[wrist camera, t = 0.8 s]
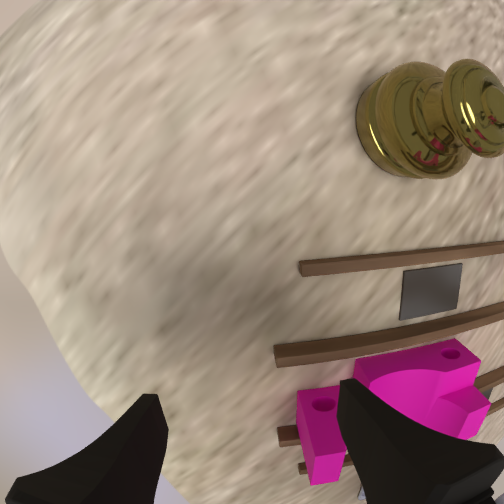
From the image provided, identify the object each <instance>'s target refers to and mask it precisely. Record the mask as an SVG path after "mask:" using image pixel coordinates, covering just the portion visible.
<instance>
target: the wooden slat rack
mask: <svg viewBox="0 0 504 504" xmlns="http://www.w3.org/2000/svg"><path fill="white" fill-rule="evenodd" d="M500 253H504V241H499V242H490V243H481V244H472V245H462V246H452V247H443V248H433V249H423V250H413V251H402V252H392V253H381V254H371V255H360V256H349V257H338V258H327V259H316V260H304V261H299V267H300V274H301V275H302V277H308V276H318V275H329V274H338V273H348V272H358V271H367V270H376V269H385V268H394V267H402V266H410V265H419V264H427V263H435V262H443V261H450V260H458V259H465V258H472V257H480V256H487V255H494V254H500ZM461 273H462V263H459V264H452V265H445V266H438V267H430V268H423V269H415V270H407V271H403V284H402V296H401V306H400V315H399V320H400V321H401V320H406V319H411V318H416V317H421V316H426V315H431V314H435V313H440V312H444V311H449V310H453V309H456V308H457V302H458V296H459V289H460V281H461ZM503 319H504V302H501V303H498V304H494V305H491V306H487V307H483V308H480V309H476V310H472V311H469V312H465V313H461V314H457V315H453V316H448V317H444V318H440V319H436V320H431V321H427V322H422V323H417V324H413V325H408V326H403V327H398V328H392V329H387V330H381V331H376V332H370V333H364V334H358V335H352V336H345V337H339V338H332V339H324V340H317V341H309V342H301V343H292V344H283V345H274V356H275V361H276V366H277V368H281V367H290V366H298V365H306V364H314V363H321V362H328V361H334V360H341V359H347V358H353V357H358V356H364V355H369V354H374V353H379V352H384V351H389V350H394V349H399V348H403V347H407V346H412V345H416V344H420V343H424V342H428V341H432V340H436V339H440V338H444V337H447V336H451V335H455V334H458V333H462V332H465V331H468V330H472V329H475V328H478V327H481V326H484V325H488V324H491V323H494V322H497V321H500V320H503ZM503 382H504V366H502V367H500V368H498V369H496V370H494V371H491V372H489V373H487V374H485V375H482V376H480V377H477V378H475V381H474V384H473V385H474V386H475V387H476V388H477V389H478V390H479V391H480V392H481V393H482V394H483V395H484V396H485V397H486V398H487V399H489V397H490V394H491V392H492V389H493V387H495V386H497V385H499V384H501V383H503ZM503 407H504V398H502V399H500V400H498V401H496V402H494V403H492V404H491V405H490V408H489V410H488V412H487V414H486V416H488V415H490V414H492V413H494V412H496V411H498V410H499V409H501V408H503ZM486 416H485V417H486ZM277 431H278V439H279V445H280V447H286V446H294V445H301V441H300V437H299V432H298V428H297V425H294V426H286V427H277ZM350 465H354V464H353V462H352V459H351V457H350V455H345V457H344V461H343V465H342V467H345V466H350ZM298 469H299V473H300V475H301V474H308V471H307V467H306V463H299V464H298Z"/></svg>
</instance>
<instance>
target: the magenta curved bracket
mask: <svg viewBox="0 0 504 504" xmlns="http://www.w3.org/2000/svg"><path fill="white" fill-rule="evenodd" d="M480 363H481V360H480V359H479V358H478V357H476V356H475V355H474V354H473V353H472V352H471V351H469V350H468V349H467V348H466V347H465V346H464V345H462V344H461V343H460V342H459V341H458V340H456V339H455V338H454V339H450V340H447V341H443V342H438V343H434V344H430V345H426V346H421V347H417V348H412V349H407V350H402V351H397V352H392V353H387V354H381V355H376V356H370V357H364V358H358V359H356V360H355V367H354V374H353V378H355V379H357V380H358V381H359V382H360V383H362V384H363V385H364V386H365V387H367V388H368V389H369V390H370V391H371V392H373V393H374V394H375V395H376V396H378V397H379V398H380V399H382V400H383V401H384V402H386V403H387V404H388V405H390V406H391V407H393V408H394V409H396V410H397V411H399V412H400V413H402V414H404V415H405V416H407V417H408V418H410V419H412V420H414V421H416V422H418V423H420V424H422V425H424V426H426V427H428V428H430V429H433V430H435V431H438V432H441V433H443V434H446V435H449V436H452V437H456V438H459V439H464V440H467V439H469V438H471V437H473V436H475V435H476V434H477V432H478V430H479V428H480V426H481V424H482V422H483V420H484V418H485V416H486V414H487V412H488V410H489V408H490V405H491V403H490V402H489V400H488V399H487V398H486V397H485V396H484V395H483V394H482V393H481V392H480V391H479V390H478V389H477V388H476V387H475V386H474V385H473V384H474V381H475V378H476V375H477V372H478V369H479V366H480ZM339 389H340V385H338V386H331V387H324V388H316V389H308V390H300V391H298V392H297V414H296V424H297V428H298V432H299V437H300V441H301V445H302V450H303V454H304V458H305V463H306V467H307V471H308V476H309V480H310V485H318V484H324V483H329V482H335V481H338V480H339V476H340V472H341V469H342V465H343V461H344V457H345V453H346V450H347V448H346V445H345V443H344V441H343V438H342V436H341V432H340V429H339V425H338V421H337V417H336V415H337V407H338V398H339Z"/></svg>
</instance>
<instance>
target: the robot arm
mask: <svg viewBox="0 0 504 504" xmlns="http://www.w3.org/2000/svg"><path fill="white" fill-rule="evenodd" d="M336 417H337V421H338V425H339V429H340V432H341V436H342V438H343V441H344V443H345V445H346V448H347V450H348V452H349V455H350V457H351V459H352V462H353V464H354V466H355V468H356V471H357V473H358V475H359V478H360V480H361V483H362V488H361V491H360V493H359V496H358V499H359V500H363V499H366V501H367V504H504V493H503V494H502V495H501V496H499V497H498V498H497V499H496V500H495V501H494V500H493V498H492V497H491V496H492V495H493V494H494V491H493V489H492V488H491V486H492V484H493V483H494V482H495V480H496V479H497V478H498V476H499V475H500V474H501V472H502V471H503V469H504V456H503V454H502V453H501V452H500V451H499V449H498V448H497V447H496V446H495V445H494V444H486V443H479V442H472V441H468V440H464V439H459V438H456V437H452V436H449V435H446V434H443V433H441V432H438V431H435V430H433V429H430V428H428V427H426V426H424V425H422V424H420V423H418V422H416V421H414V420H412V419H410V418H408V417H407V416H405V415H404V414H402V413H400V412H399V411H397V410H396V409H394V408H393V407H391V406H390V405H388V404H387V403H386V402H384V401H383V400H382V399H380V398H379V397H378V396H376V395H375V394H374V393H373V392H371V391H370V390H369V389H368V388H367V387H365V386H364V385H363V384H362V383H360V382H359V381H358V380H357V379H355V378H352V379H346V380H341V381H340V389H339V398H338V407H337V415H336ZM168 430H169V429H168V426H167V423H166V420H165V417H164V414H163V411H162V407H161V404H160V401H159V398H158V394H143V395H142V396H141V397H140V398H139V399H138V400H137V401H136V402H135V403H134V404H133V405H132V406H131V407H130V408H129V409H128V410H127V411H126V412H125V413H124V414H123V415H122V416H121V417H120V418H119V419H118V420H117V421H116V422H115V423H114V424H113V425H112V426H111V427H110V428H109V429H108V430H107V431H106V432H104V433H103V434H102V435H101V436H100V437H99V438H97V439H96V440H95V441H94V442H92V443H91V444H90V445H88V446H87V447H85V448H84V449H83V450H81V451H80V452H78V453H76V454H75V455H73V456H71V457H69V458H68V459H66V460H64V461H62V462H60V463H58V464H56V465H54V466H52V467H49V468H47V469H44V470H42V471H39V472H36V473H33V474H29V475H26V476H22V477H18V478H17V479H16V480H15V482H14V484H13V486H12V487H11V489H10V491H9V493H8V495H7V497H6V498H5V502H6V504H154V497H155V492H156V488H157V484H158V480H159V476H160V472H161V468H162V465H163V461H164V457H165V453H166V448H167V439H168Z"/></svg>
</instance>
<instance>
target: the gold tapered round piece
mask: <svg viewBox="0 0 504 504" xmlns="http://www.w3.org/2000/svg"><path fill="white" fill-rule="evenodd" d="M356 123H357V130H358V134H359V137H360V140H361V143H362V145H363V147H364V149H365V150H366V152H367V153H368V155H369V156H370V158H371V159H372V160H373V161H374V162H375V163H376V164H377V165H378V166H379V167H381V168H382V169H383V170H385V171H387V172H389V173H391V174H393V175H396V176H400V177H411V178H417V179H423V178H428V179H445V178H448V177H451V176H453V175H455V174H457V173H458V172H459V171H460V170H462V169H463V168H464V166H465V165H466V164H467V162H468V161H469V159H470V157H471V155H472V152H473V153H474V154H476V155H478V156H480V157H484V158H494V157H498V156H500V155H502V154H503V153H504V87H503V85H502V83H501V82H500V80H499V79H498V78H497V76H496V75H495V74H494V73H493V72H492V71H491V70H490V69H489V68H488V67H487V66H485V65H484V64H482V63H481V62H479V61H476V60H473V59H462V60H458V61H456V62H454V63H453V64H452V65H451V66H450V67H449V68H448V70H447V71H446V72H445V71H443V70H442V69H440V68H438V67H436V66H434V65H431V64H428V63H424V62H408V63H404V64H401V65H399V66H397V67H396V68H394V69H393V70H392V71H391V72H389V73H387V74H385V75H383V76H382V77H380V78H379V79H378V80H377V81H376V82H374V83H373V84H371V85H370V86H369V87H368V88H367V89H366V90H365V91H364V93H363V94H362V96H361V98H360V100H359V103H358V107H357V113H356Z"/></svg>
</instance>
